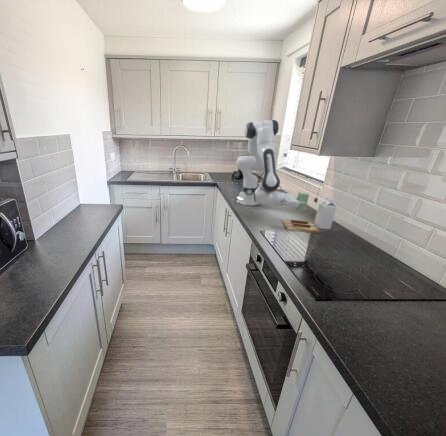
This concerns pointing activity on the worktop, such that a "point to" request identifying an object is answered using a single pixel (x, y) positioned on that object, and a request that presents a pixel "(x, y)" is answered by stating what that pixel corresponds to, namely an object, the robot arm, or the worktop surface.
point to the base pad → (300, 226)
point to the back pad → (302, 198)
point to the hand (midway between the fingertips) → (303, 201)
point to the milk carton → (325, 214)
